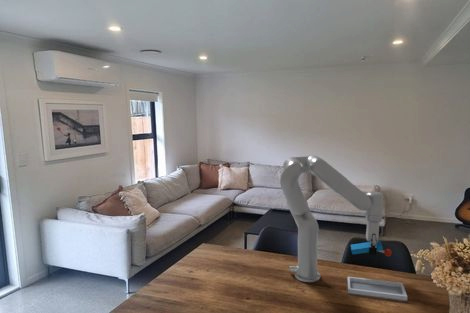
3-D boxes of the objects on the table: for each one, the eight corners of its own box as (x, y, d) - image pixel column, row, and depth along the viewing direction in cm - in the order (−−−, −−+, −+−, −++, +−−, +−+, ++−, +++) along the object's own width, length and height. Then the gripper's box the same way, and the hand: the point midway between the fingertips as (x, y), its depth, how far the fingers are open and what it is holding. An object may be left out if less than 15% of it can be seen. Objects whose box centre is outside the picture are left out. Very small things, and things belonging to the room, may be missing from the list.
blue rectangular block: (354, 263, 163) (393, 258, 158) (351, 249, 163) (390, 244, 157) (353, 257, 170) (391, 252, 164) (350, 244, 169) (388, 239, 164)
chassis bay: (348, 294, 149) (348, 289, 149) (347, 281, 160) (347, 276, 160) (407, 301, 142) (407, 296, 141) (402, 287, 153) (402, 282, 153)
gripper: (364, 211, 171) (362, 244, 173) (366, 221, 154) (364, 258, 156) (379, 212, 168) (378, 246, 171) (384, 223, 152) (382, 260, 154)
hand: (371, 251), depth 164 cm, fingers closed on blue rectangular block, 7 cm apart
